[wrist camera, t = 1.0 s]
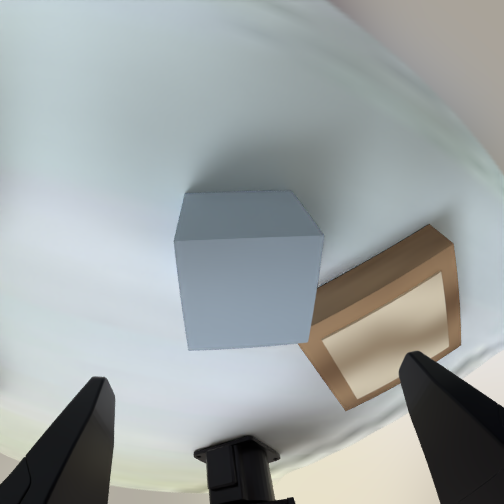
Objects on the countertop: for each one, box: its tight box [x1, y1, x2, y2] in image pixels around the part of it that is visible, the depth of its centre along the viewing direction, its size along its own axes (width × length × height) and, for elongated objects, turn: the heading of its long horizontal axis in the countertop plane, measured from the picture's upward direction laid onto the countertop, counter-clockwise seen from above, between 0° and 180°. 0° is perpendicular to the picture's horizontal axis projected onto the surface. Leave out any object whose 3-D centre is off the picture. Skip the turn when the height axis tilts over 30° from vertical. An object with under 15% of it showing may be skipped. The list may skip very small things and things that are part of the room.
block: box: [174, 191, 324, 351], centre depth 14 cm, size 5×5×5 cm
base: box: [298, 224, 461, 411], centre depth 19 cm, size 10×10×3 cm
